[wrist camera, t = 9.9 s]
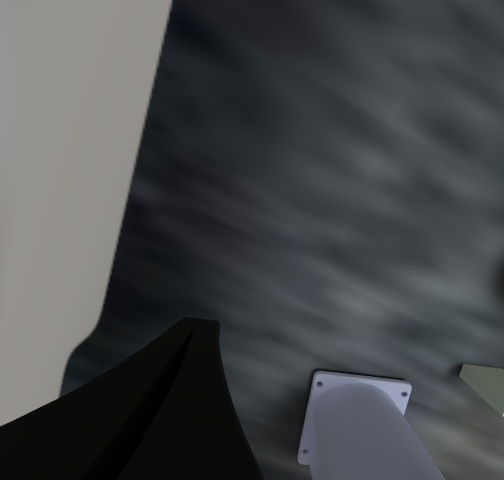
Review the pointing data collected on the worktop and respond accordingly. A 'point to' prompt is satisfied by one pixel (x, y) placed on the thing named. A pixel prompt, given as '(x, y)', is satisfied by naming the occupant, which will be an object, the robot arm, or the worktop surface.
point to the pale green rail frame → (486, 383)
